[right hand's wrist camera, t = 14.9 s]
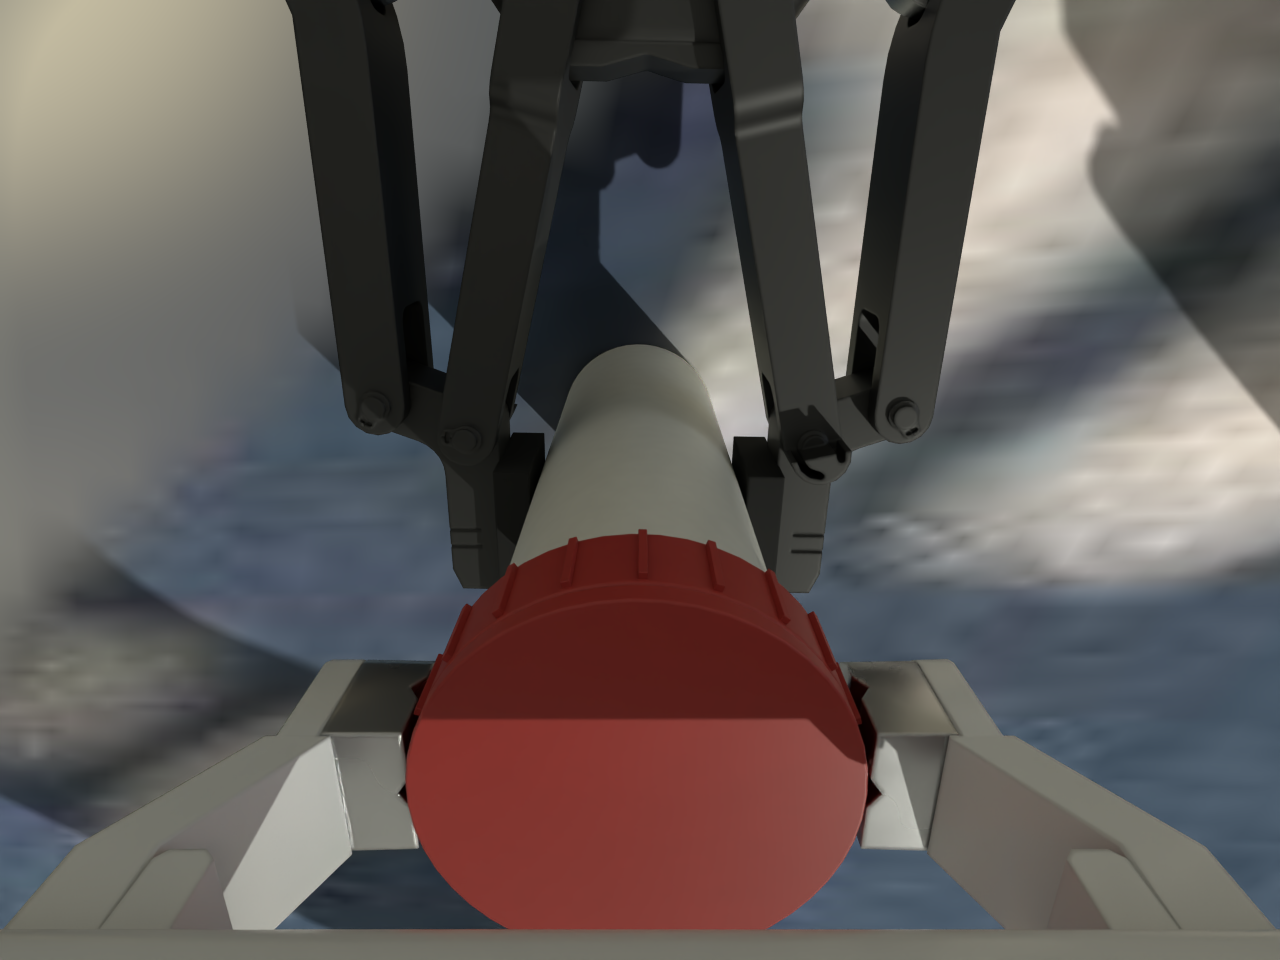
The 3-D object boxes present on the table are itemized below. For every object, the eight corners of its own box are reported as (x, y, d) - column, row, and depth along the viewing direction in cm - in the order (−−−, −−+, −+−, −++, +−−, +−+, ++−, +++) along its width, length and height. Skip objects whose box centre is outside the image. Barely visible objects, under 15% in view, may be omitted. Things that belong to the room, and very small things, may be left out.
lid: (920, 640, 10) (971, 724, 8) (708, 905, 12) (719, 1013, 10) (544, 452, 9) (524, 508, 7) (376, 772, 11) (331, 870, 9)
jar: (739, 388, 23) (898, 711, 9) (666, 507, 25) (703, 950, 10) (607, 316, 22) (550, 547, 8) (540, 444, 24) (393, 829, 10)
